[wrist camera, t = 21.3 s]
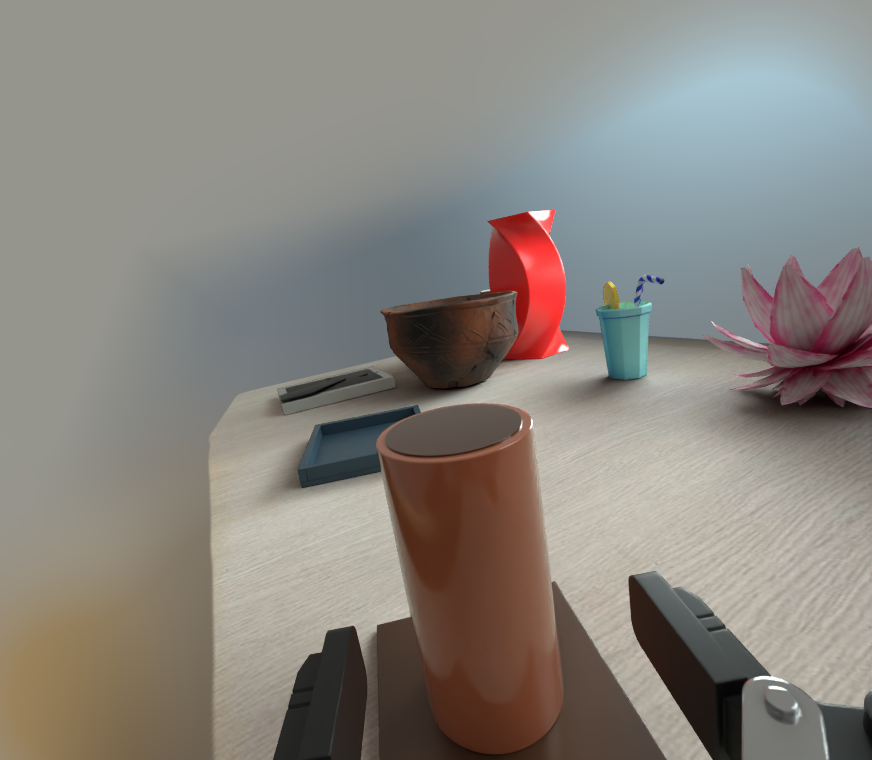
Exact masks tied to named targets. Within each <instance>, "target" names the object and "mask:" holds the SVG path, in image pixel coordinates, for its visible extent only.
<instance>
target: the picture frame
mask: <svg viewBox="0 0 872 760" xmlns="http://www.w3.org/2000/svg"><path fill="white" fill-rule="evenodd" d="M395 387H396V385H395V380H394V377H393V376H391V375H389V374H387V373H385V372H383V371H381V370H379V369H377V368H375V367H369V368H364V369H360V370H356V371H351V372H347V373H343V374H338V375H334V376H330V377H325V378H321V379H317V380H312V381H308V382H304V383H299V384H295V385H291V386H286V387H282V388H278V389H277V391H278V394H279V398H280V402H281V405H282V408H283V412H284V415H288V414H292V413H296V412H300V411H304V410H308V409H312V408H316V407H320V406H324V405H328V404H332V403H336V402H340V401H344V400H348V399H352V398H355V397H359V396H363V395H367V394H371V393H375V392H379V391H383V390H387V389H391V388H395Z"/></svg>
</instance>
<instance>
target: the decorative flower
mask: <svg viewBox="0 0 872 760" xmlns="http://www.w3.org/2000/svg"><path fill="white" fill-rule="evenodd" d="M741 275H742V290H743V301H744V303H745V305H746V307H747V309H748V312H749V314H750V316H751V318H752V321H753V323H754V325H755V327H756V328H757V329H758V330H759V331H760V332H761V333H762V334H763V335H764V336H765V337H766V338H767V339H768V340H769V341H770V342H772V343H773V344H769V347H767V346H764V345H761V344H758V343H755V342H752V341H750V340H747V339H744V338H741V337H738V336H736V335H734V334H732V333H730V332H728V331H727V330H725V329H723V328H722V327H720V326H718V325H716V324H715V323H713V322H711V323H712V324H713V325H714V327H715V328H716V329H717V330H718V331H719V332H720V333H721V334H723V335H725V336H726V337H728V338H729V339H731V340H732V341H734V342H735V343H737V344H739V345H742V346H745V347H741V346H736V345H733V344H730V343H727V342H724V341H722V340H718V339H716V338H713V337H710V336H707V335H703V336H704V337H705V338H707V339H708V340H709V341H710V342H712V343H713V344H715V345H716V346H717V347H719V348H720V349H723V350H725V351H728V352H730V353H733V354H735V355H738V356H740V357H744V358H750V359H756V360H762V361H767V362H768V363H769V364H770V365H771V366H776V367H773V368H770V369H767V370H764V371H761V372H758V373H752V374H733V375H736V376H741V377H746V378H747V377H759V376H767V375H770V376H768V377H766V378H764V379H761V380H759V381H757V382H754V383H752V384H750V385H747V386H744V387H739V388H735V389H731V390H743V391H744V390H750V389H756V388H761V387H765V386H768V385H771V384H773V383H776V382H778V381H781V380H783V379H784V380H783V381H782V382H781V383H780V384H779V385H777V386H776V387H775V388H773V389H776V388H780V387H782V386H783V387H782V388H781V389H780V390H779V392H778V393H777V394H776V395H774V396H773V397H776V396H778V395H781V400H780V402H781V404H782V405H785V404H790V403H794V402H797V401H798V402H799V405H802V404H803V403H805V402H806V401H808V400H809V399H811V398H812V397H814V395H815V394H816V392H817V391H818V390H819V389H820V388H821V389H822V390H823V391H824V392H825V393H826V394H827V395H828V396H829V397H830V398H831V399H832V400H833V401H834V402H835V403H836V404H838V405H840V406H842V407H844V404H845V401H846V400H847V401H850V402H852V403H855V404H857V405H860V406H864V407H870V408H872V261H871V259H870V257H865V258H863V257H862V254H861V252H860V249H859V247H858V248H855V249H852V250H851V251H850V252H849V253H848V254H847V255H846V256H845V257H844V258H843V259H842V260H841V261H840V262H839V263H838V264H837V265H836V266H835V267H834V269H833V270H832V271H831V272H830V273H829V275H828V276H827V277H826V278H825V279H824V280H823V282H822V283H821V284H820V285H819V286H818V287H817V289H816V288H815V287H814V286H813V285H811V283H810V282H808V281H807V280H806V279H805V278H804V275H803V273H802V271H801V269H800V266H799V264H798V262H797V260H796V257H794V256H792V255H791V256H790V258H789V260H788V261H787V263H786V264H785V266H784V267H783V268H782V271H781V274H780V277H779V280H778V283H777V286H776V289H775V294H774V298H772V297H771V296H770V295H769V294H768V293H767V292H766V291H765V290H764V289H763V287H762V286H761V285H760V284H759V283H758V282H757V281H756V280H755V279H754V278H753V275H752V272H751V269H750V266H749V264H748V271H747V269H745V268H741ZM746 347H748V348H746ZM771 374H772V375H771ZM773 397H772V398H773Z"/></svg>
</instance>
